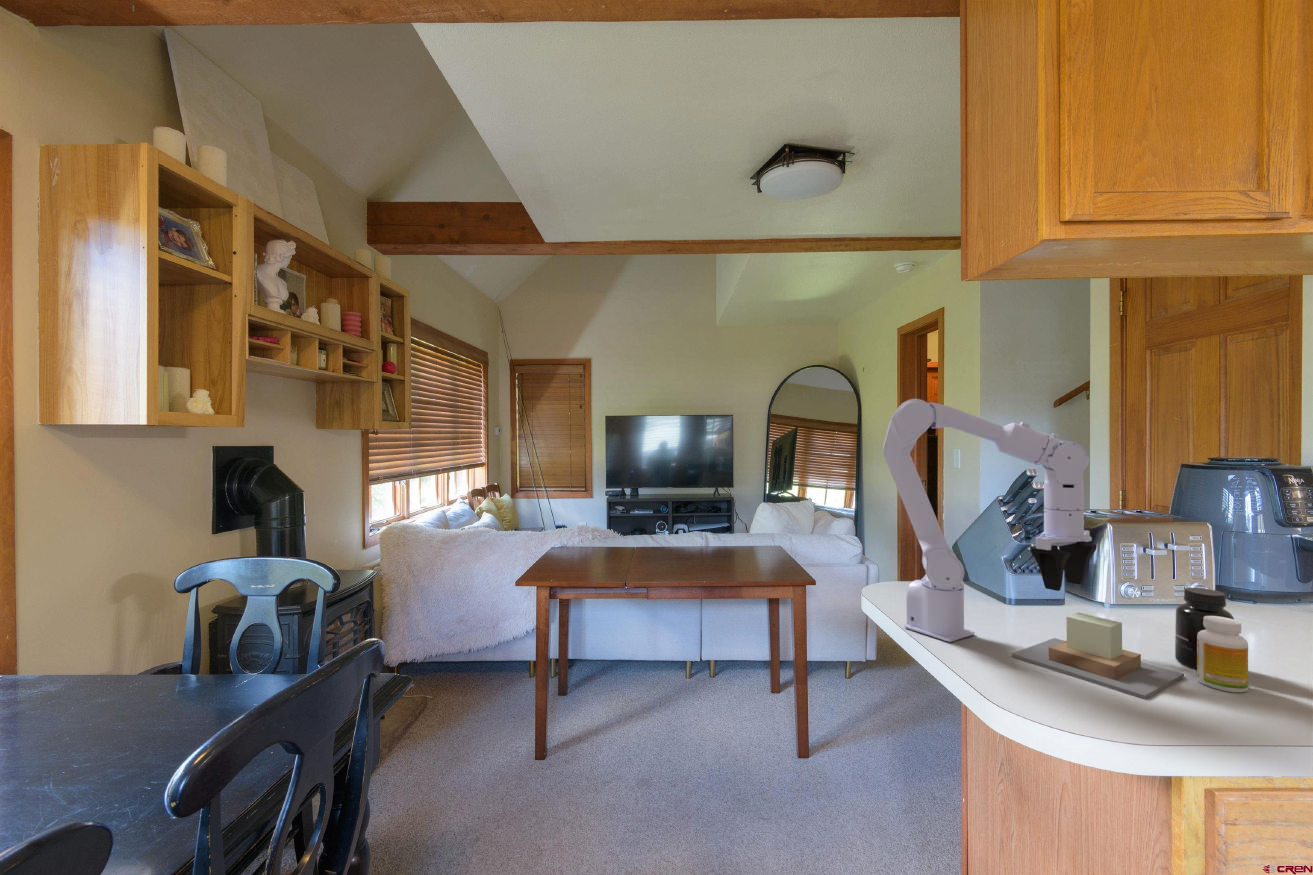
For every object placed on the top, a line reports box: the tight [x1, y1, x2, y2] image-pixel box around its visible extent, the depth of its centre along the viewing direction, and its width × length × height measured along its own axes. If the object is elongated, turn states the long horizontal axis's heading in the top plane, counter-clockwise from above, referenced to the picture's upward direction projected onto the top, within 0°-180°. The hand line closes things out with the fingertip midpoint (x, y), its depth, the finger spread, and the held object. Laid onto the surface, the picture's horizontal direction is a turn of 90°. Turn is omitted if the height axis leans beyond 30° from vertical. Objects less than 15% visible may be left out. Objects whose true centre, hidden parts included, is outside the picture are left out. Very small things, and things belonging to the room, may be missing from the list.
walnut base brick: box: [1049, 640, 1142, 680], centre depth 92 cm, size 9×9×2 cm
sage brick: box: [1066, 612, 1123, 660], centre depth 92 cm, size 6×4×5 cm, turn 31°
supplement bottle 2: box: [1196, 616, 1249, 693], centre depth 85 cm, size 5×5×10 cm
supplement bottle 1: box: [1174, 587, 1235, 671], centre depth 92 cm, size 7×7×12 cm
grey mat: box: [1011, 637, 1185, 700], centre depth 92 cm, size 18×14×1 cm
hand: (1063, 586), depth 101 cm, fingers open, 7 cm apart
